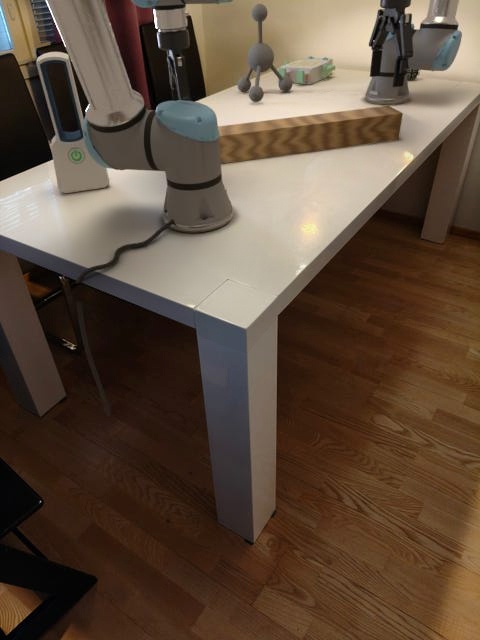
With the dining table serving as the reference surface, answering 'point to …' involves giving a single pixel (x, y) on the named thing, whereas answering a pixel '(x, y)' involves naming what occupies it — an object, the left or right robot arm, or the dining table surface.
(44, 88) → the electronic device
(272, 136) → the long wooden beam
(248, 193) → the dining table surface
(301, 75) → the clip lid food container
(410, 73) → the grenade
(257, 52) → the molecular model
